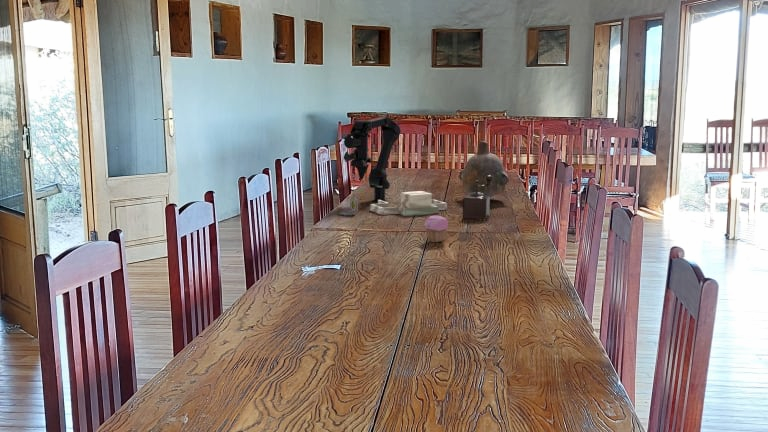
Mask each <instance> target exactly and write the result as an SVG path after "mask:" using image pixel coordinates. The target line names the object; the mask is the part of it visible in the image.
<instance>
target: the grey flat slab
mask: <svg viewBox="0 0 768 432" xmlns="http://www.w3.org/2000/svg"><path fill="white" fill-rule="evenodd" d="M369 208H370V209H369V211H371V212H373V213H377V214H378V215H382V216H384V215H385V216H386V215H397V214H399V215H401V216H405V217H408V216H420V215H422V216H423V215H432V214H439V212H440V211H445V210H446V211H447V209H448V203H447V202H444V201H440V200H437V199H432V207H422V208H410V209H406V208H403V207H401V205H400V206H391V207H390V202H387V201H382V200H378V201H377V203H370V205H369Z"/></svg>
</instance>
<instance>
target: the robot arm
mask: <svg viewBox="0 0 768 432" xmlns="http://www.w3.org/2000/svg"><path fill="white" fill-rule="evenodd" d="M379 127H380V128H379ZM376 128H379V129H380V130H381V132H382V134H381V135H382V139H383V142H382V145H381V149H380V152H379V156H378V159H377V162H376V166H375V167H374V168H371V169H370V170H369V171H370V172H369V174H368V183H369V188H370V189H373V198H372V199H371V201H373V202H378V200H382V201H385V202H387V200H388V198H386V190H388V189H390V186H391V185H390V182H389V181H388V179H387V178H388V175H387V174H388V173H387V170H386V169H387V166H388V163H389V159H390V156H391V153H392V149H393V147H394V146H393V145H394V144H395V142H396V141H397V140H398V139H399V137H400V135H401V130H402V129H401V127H399V125H398V124H397V123H396V122H395V121H393V120H392V119H391V118H390V117H389V116H379V117H376V118H372V119H369V120H360V119H359V120H355V121H354V123H353V125H352V127H351V129H350V132H349V133H347V134H346V135H347V136H346V137H344V140H343V144H344V146H345V148H347V149H353V148H354V149H353V152H351V153H350V152H346V153H344V155H343V160H344V162H345V163H347V162H349V161H350V167H354V168H356V170H357V173H358V176H359V180H360V181H361V180H363V179H364V177H365V175H366V172H367V170H368V168H369V166H370V164H371V163H373V159H372V157H371V156H368V155H369V154H368V152H369V151H370V149H369V145H368V144H369V143H368V142H369V141H368V140H369V138H371V134H369V133H371V131H372V130H373V129H376ZM367 163H369V164H367Z"/></svg>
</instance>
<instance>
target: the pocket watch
mask: <svg viewBox="0 0 768 432" xmlns="http://www.w3.org/2000/svg"><path fill="white" fill-rule="evenodd" d="M355 196H357V194H356V192H355V191H354V192H353V193H352V197H351V198H350V202H349V207H350V210H351V211H350V210H349V211H344V210H343V211H340V212H339V215H340V216H345V217H347V216H353V215H355V213H357V212H358V210H359V202H358V199H357V198H356V197H355Z"/></svg>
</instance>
